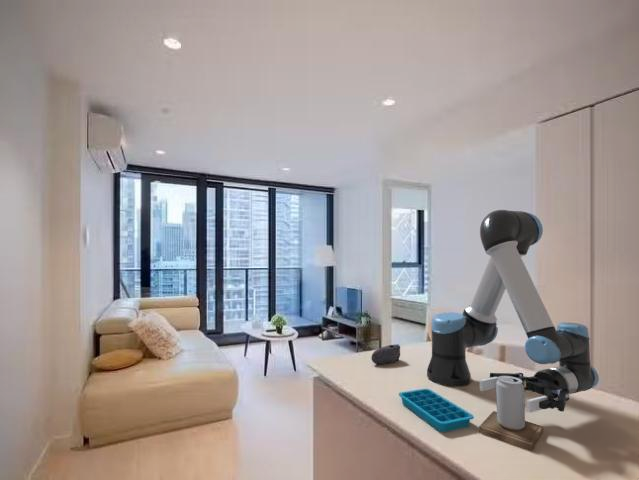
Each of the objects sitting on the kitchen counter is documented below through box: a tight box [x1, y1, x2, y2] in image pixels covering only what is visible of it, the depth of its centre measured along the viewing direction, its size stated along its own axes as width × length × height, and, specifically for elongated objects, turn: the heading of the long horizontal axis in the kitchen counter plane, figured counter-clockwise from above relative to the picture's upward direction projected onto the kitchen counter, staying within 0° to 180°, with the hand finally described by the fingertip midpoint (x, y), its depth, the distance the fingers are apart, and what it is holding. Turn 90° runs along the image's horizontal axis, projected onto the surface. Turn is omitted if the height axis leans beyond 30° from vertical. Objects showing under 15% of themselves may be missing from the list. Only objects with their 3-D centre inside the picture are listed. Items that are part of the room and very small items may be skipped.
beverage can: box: [495, 376, 526, 430], centre depth 89 cm, size 6×6×12 cm
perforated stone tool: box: [371, 343, 401, 365], centre depth 143 cm, size 15×5×7 cm, turn 116°
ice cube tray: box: [398, 388, 475, 433], centre depth 99 cm, size 12×20×3 cm, turn 20°
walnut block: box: [478, 410, 544, 452], centre depth 89 cm, size 12×12×2 cm
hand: (502, 395), depth 88 cm, fingers open, 13 cm apart
